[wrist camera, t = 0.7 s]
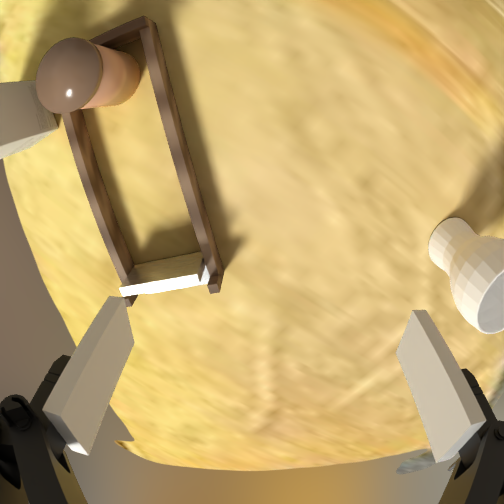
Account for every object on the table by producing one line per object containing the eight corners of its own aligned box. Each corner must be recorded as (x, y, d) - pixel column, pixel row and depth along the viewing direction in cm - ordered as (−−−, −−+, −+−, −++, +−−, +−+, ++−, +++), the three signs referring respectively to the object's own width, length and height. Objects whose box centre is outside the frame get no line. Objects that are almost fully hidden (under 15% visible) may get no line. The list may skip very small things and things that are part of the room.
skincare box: (14, 101, 32) (-66, 116, 18) (45, 77, 31) (-39, 82, 17) (30, 150, 35) (-48, 182, 21) (62, 129, 34) (-21, 153, 20)
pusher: (135, 264, 42) (119, 288, 37) (205, 250, 41) (196, 274, 35) (147, 292, 44) (133, 317, 39) (215, 280, 43) (208, 307, 37)
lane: (63, 66, 30) (41, 64, 26) (155, 23, 28) (140, 13, 24) (136, 287, 44) (124, 307, 40) (224, 271, 42) (219, 292, 38)
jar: (83, 64, 30) (30, 60, 20) (134, 41, 29) (90, 24, 20) (96, 116, 33) (44, 125, 24) (148, 95, 33) (105, 94, 23)
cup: (420, 282, 42) (466, 350, 29) (416, 217, 38) (476, 273, 25) (476, 263, 41) (529, 319, 27) (477, 200, 36) (544, 245, 23)
